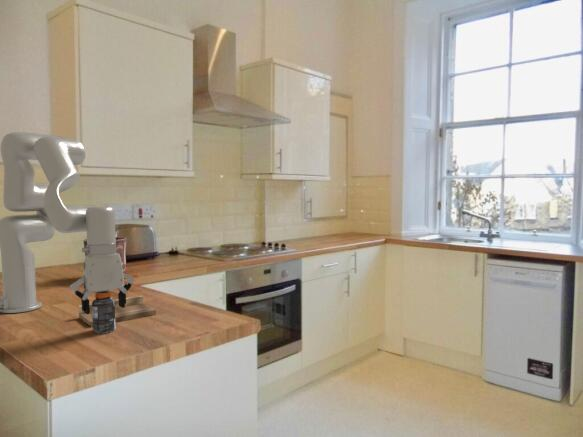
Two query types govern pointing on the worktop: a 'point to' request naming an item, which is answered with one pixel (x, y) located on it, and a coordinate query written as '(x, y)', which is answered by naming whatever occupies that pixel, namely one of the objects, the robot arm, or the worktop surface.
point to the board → (123, 310)
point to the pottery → (117, 249)
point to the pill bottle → (103, 312)
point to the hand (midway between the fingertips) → (104, 309)
